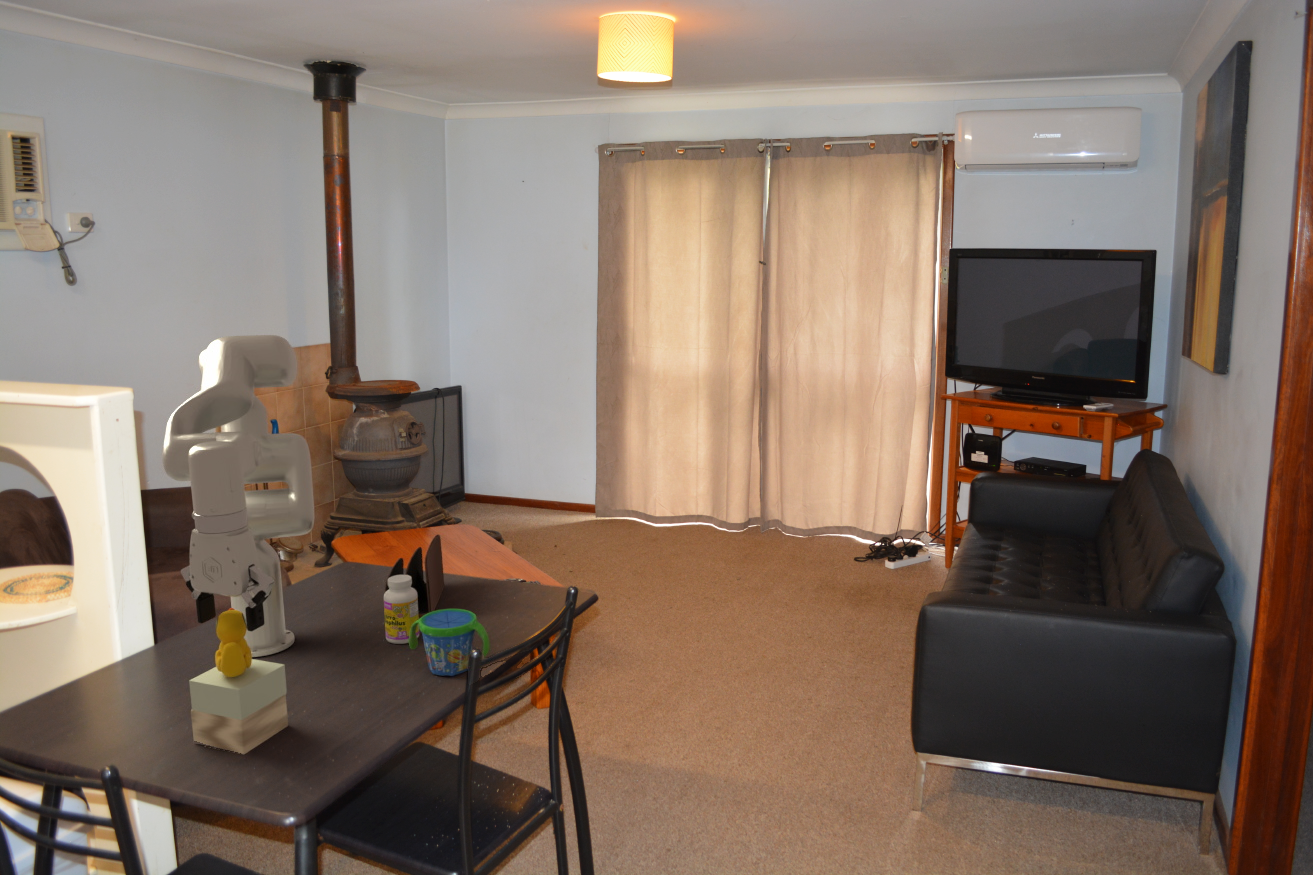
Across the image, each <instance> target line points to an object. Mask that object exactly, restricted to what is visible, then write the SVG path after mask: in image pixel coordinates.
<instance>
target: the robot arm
mask: <svg viewBox="0 0 1313 875" xmlns="http://www.w3.org/2000/svg"><path fill="white" fill-rule="evenodd" d="M198 366H199V371H200V373H201V376H202V378H201V383H200V384H201V386H200V391H198V392H196V393H194V395H191V397H190V398H188V399H187V400H185V401H184V402H183V403H182V404H181V405H179V406H178V407H177V408H176V409H175V410H174V411H173V412H172V414H171V415H170V417H169V418H168V420H167V423H166V427H165V433H164V438H163V444H162V445H163V446H162V465H163V468H164V469H163V470H164V471H165V473H166V475H167V476H168V477H169V478H171V479H172V480H175V481H178V482H190V488H191V499H192V508H193V512H192V513H191V519H193V520H194V527H195V528H193V529H192V530H191V535H190V540H189V541H190V543H189V565H188V566H185V567H183V568H182V569H180V574H181V576H182V578H183V580H184V581H185V586H186V588H188V590H189V592H191V598H192V599H193V600H195V605H196V607H195V608H196V615H197V623H198V624H205V623H207V622H208V621H211V620H213V619H214V618H216V615H217V613H216V604H215V595H218V596H225V597H230V603H231V604H230V605H231V606H230V608H234V610H238V611H240V612H242V613H243V615H244V616H245V618H246V622H247V631H246V634H245V636H244V639H245V640H246V642H247V644H248V646H249V647H250V649H251V654H252V658H259V657H264V656H269V655H274V654H278V653H279V652H282V651H284V650H286V649H288V648H289V647H291V646H292V645H293V644H295V643H294V642H295V634H294V633H293V631H291V630H290V629H289V630H288V629H286V620H285V608H284V595H283V584H282V583H283V582H282V571H281V561H280V557H279V555H278V553H277V552H276V550H275V548H273V547H272V546H271V545H270V543H268V542H267V541H266V540H269V539H278V538H287V537H297V536H299V537H300V536H303V535H307V534H309V533H310V532H311V531H312V530H313V528H314V525H315V500H314V486H313V472H312V460H311V452H310V448H309V444H308V442H307V440H306V438H305V437H304V436H303V435H301V434H298V433H294V432H293V433H292V432H288V433H287V432H286V433H284V432H283V433H270V432H269V424H268V411H267V410H268V409H267V408H266V406H265V404H264V403H263V402H262V401H261V399H259V397H257V395H255V389H256V388H257V389H261V388H264V389H265V388H282V387H283V388H285V387H289V386H291V385H293V384H294V383H295V381H296V378H297V375H298V360H297V356H296V353H295V350H294V348H293V347H292V345H291V344H290V343H289V341H288V340H287V339H286V338H284V337H282V336H280V335H274V334H260V335H258V334H256V335H251V334H250V335H230V336H229V335H228V336H222V337H219V338H216V339H214V340H212V342H211V343H210V344H208V346H207V347H206V348H205V349H204V350H202V351H201V352H200V354H199V357H198ZM219 427H220V432H208V431H210V430H213V429H216V428H219ZM280 482H281V483H286V484H287V485H288V488H276V489H275V488H274V489H273V488H272V489H253V490H245V489H246V488H245V487H246V486H245V485H247V484H248V485H251V484H264V483H265V484H267V483H280Z"/></svg>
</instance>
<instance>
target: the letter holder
mask: <svg viewBox="0 0 1313 875" xmlns="http://www.w3.org/2000/svg"><path fill="white" fill-rule="evenodd" d="M441 541H442V538H441V535H440V534H436V535H435V536H434V537H433V538H432V540H431V541H430V543H429V546H428V548H427V551H426V554H425V557H424V561H423V549H422V547H421V546H419V547H417V549H415V550H414V552H413V553H412V554H411V557H410V559H409V561H408V564H407V566H406V569H405V570H404V563H405V562H404V558H403V557H400V558H398V559H397V560H396V562H395V563H394V565H393V566H392V568H391V570H390V571H389V573H388V575H387V578H386V580H385V585H384V593H385V592H386V591H387V590H389V586H388V578H390V577H392V576H395V575H409V576H411V578H412V584H411V587H412V588H414V589H415V590H416V591H417V596H418V616H419V619H420V618H421V617H422V616H424V615H425V614H427V613H430V612H433V611H436V610H435V609H436V607H437V605H438V603H439V600H440V598H441V595H442V594H443V591H444V588H445V577H444V575H445V574H444V565H443V564H444V561H443V550H442V549H443V548H442V542H441ZM423 565H424V566H423ZM404 571H405V572H404ZM424 574H425V577H424ZM424 579H425V580H424Z"/></svg>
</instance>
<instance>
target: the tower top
mask: <svg viewBox="0 0 1313 875" xmlns="http://www.w3.org/2000/svg"><path fill="white" fill-rule="evenodd" d="M286 677H287V676H286V667H285V664H284V663H278V662H272V661H268V660H266V661H265V660H261V659H253V658H252V663H251V666H250V667H249V668H246V670H245V671H244V673H243V674H241V675H239V676H236V677H227V676H225V675H224V674H223V673H222V672H220V671H218V669H217V666H215V667H213V668H211V669H209V670H207V671H205V672H203V673H201V674H199V675H197V676H196V677H194V678H191V679H189V680H188V683H189V684H188V685H189V693H190V702H191V703H190V704H191V710H194V711H199V712H204V713H209V714H214V715H219V716H224V717H229V718H234V719H238V720H243V719H244V718H246V717H248V716H249V715H251V714H253V713H254V712H256V711H258V710H259V709H261V708H263V707H265V706H266V705H268V704H270V703H271V702H273V701H275V700H276V699H278V698H280V697H281V696H283V695H285V694H288V690H287V680H286V679H287V678H286Z"/></svg>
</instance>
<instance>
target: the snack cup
mask: <svg viewBox="0 0 1313 875" xmlns="http://www.w3.org/2000/svg"><path fill="white" fill-rule="evenodd" d="M477 618H478V617H477V615H476V614H475V613H474V612H472V611H470V610H467V609H463V608H443V609H436V610H434V611H433V612H430V613H427V614H425V615H424V616H422V617H421V618H419V619H418V620H417V621H416V622H414V623H413V625H412V626H411V629H410V633H409V643H408V645H409V648H410V650H415V649H417V647H418V645H419V640H418V638H417V636H416V633H415V632H416V627H417V624H419V632H420V633H422V634H421V635H422V639H423V645H424V650H425V654H426V660H427V664H428V668H429V671H430V672H431V673H432V674H433V675H438V676H448V677H449V676H450V677H454V676H455V675H460V674H462V673H464V672H467V671H468V670H467V666H468V658H469V655H470V653H471V652H472V653H473V646H474V645H473V644H474V636H475V632H477V634H478V637H480V639H481V640H482V652H483V655H484V658H486V656H487V655H488V653H489V651H490V645H491V644H490V639H489V636H488V633H487V631H486V628H485V626H483V625H482V623H480V622H479V621H478V619H477Z"/></svg>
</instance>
